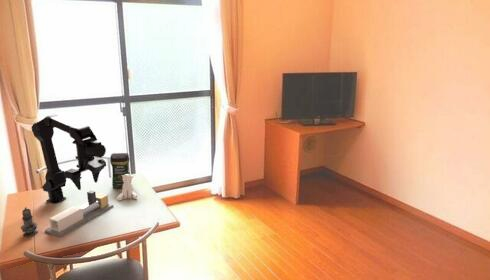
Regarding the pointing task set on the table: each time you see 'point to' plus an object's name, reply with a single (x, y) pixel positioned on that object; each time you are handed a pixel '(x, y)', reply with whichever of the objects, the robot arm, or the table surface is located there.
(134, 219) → the table surface
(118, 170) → the coffee jar
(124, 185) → the seated beast figurine
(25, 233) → the dark grey statuette
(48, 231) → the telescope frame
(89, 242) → the table surface
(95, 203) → the steel t-shaped block
